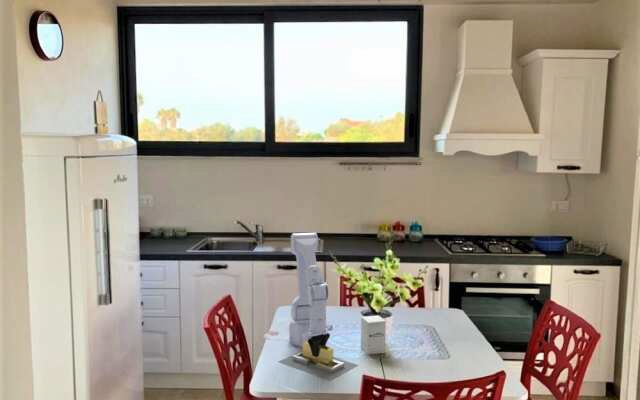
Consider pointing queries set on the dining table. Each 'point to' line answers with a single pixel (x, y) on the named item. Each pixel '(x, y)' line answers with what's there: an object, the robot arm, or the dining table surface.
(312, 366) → the mat
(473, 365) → the dining table surface
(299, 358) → the pair of white brackets
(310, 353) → the yellow gripped block
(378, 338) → the supplement box
